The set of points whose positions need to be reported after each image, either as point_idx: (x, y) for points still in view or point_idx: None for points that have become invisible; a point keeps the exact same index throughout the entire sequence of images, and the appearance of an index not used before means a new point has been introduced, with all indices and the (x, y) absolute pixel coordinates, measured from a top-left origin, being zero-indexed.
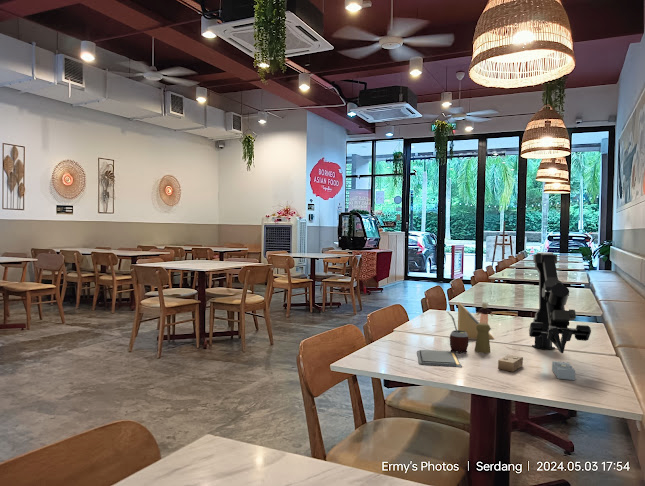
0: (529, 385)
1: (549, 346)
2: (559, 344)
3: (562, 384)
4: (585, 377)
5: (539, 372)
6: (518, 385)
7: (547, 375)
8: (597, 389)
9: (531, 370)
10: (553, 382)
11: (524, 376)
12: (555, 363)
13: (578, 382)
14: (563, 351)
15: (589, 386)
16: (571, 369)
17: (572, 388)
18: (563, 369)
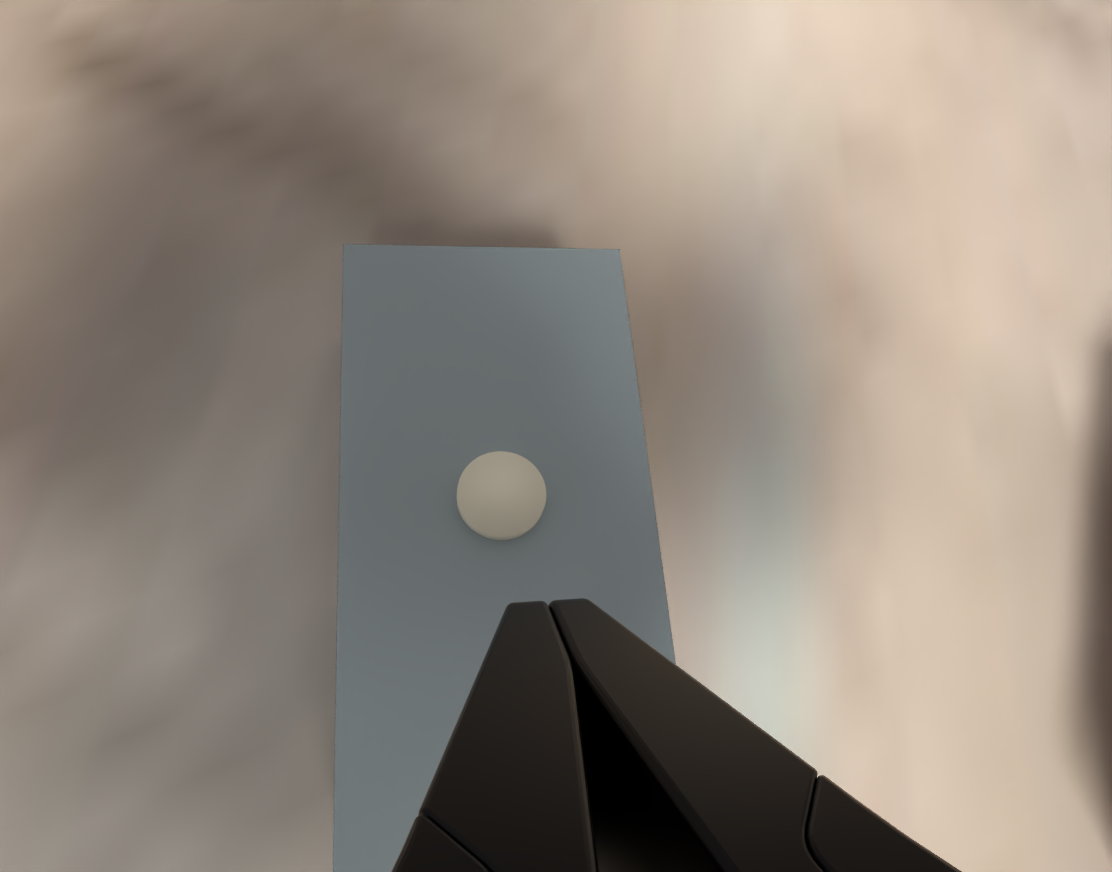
0: (883, 33)
1: None
2: (689, 702)
3: (549, 145)
4: (113, 594)
5: (835, 604)
6: (975, 11)
7: (717, 477)
8: (152, 74)
9: (958, 679)
10: (648, 189)
11: (986, 321)
12: (640, 636)
13: (321, 280)
14: (514, 606)
15: (217, 157)
16: (392, 296)
17: (455, 43)
18: (532, 258)
